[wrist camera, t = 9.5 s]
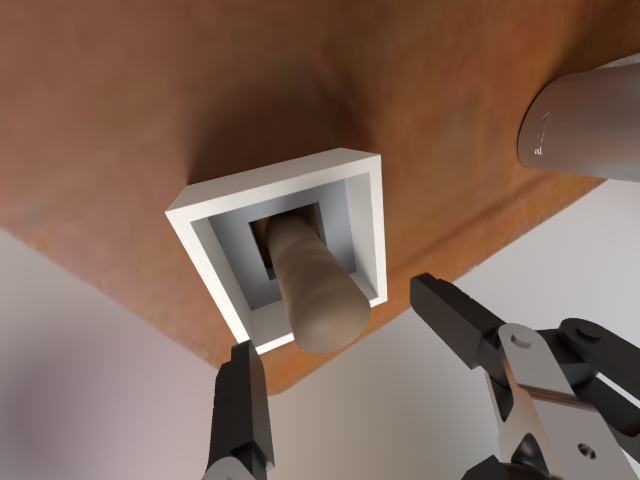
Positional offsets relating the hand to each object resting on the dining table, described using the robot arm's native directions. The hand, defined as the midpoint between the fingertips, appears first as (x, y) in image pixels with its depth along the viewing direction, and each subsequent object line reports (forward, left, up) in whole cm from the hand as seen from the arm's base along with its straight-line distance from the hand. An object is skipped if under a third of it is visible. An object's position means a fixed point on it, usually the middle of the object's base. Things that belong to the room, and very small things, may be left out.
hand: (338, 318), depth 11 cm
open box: (0, 0, -11) cm, 11 cm away
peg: (0, 0, -11) cm, 11 cm away
